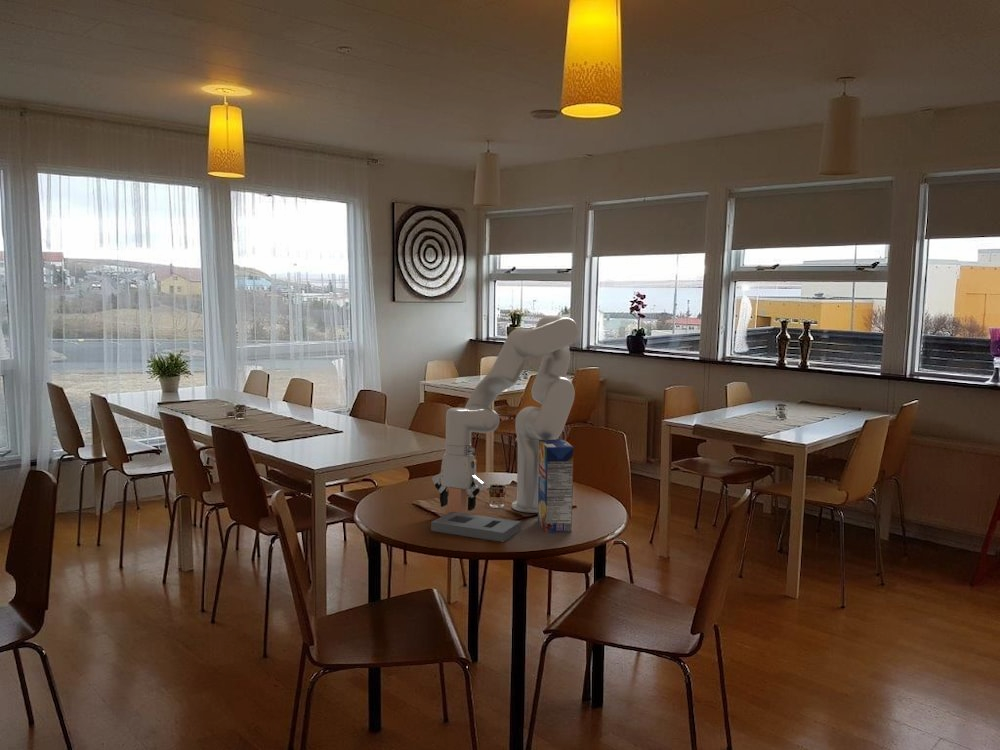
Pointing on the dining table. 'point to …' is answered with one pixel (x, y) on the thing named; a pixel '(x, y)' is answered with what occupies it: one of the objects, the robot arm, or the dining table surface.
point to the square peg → (457, 500)
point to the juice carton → (555, 485)
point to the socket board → (476, 526)
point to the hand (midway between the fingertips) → (457, 507)
